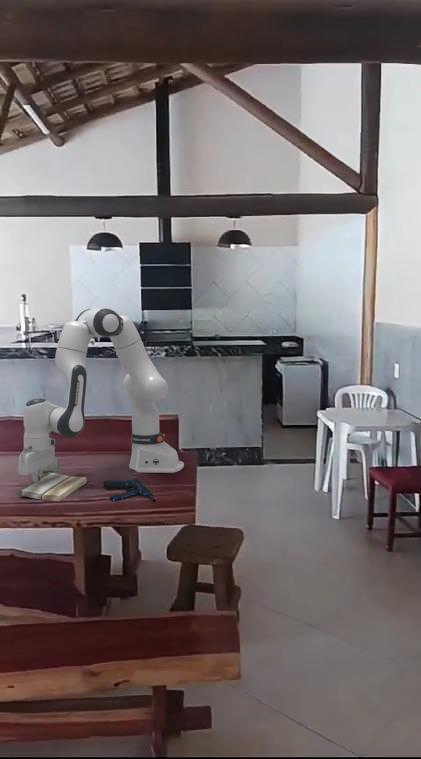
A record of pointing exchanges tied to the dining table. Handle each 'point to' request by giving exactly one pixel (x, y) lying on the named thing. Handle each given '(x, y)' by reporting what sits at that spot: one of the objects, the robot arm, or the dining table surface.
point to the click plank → (42, 485)
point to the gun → (128, 489)
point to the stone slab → (51, 467)
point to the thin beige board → (64, 488)
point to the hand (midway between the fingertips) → (36, 480)
